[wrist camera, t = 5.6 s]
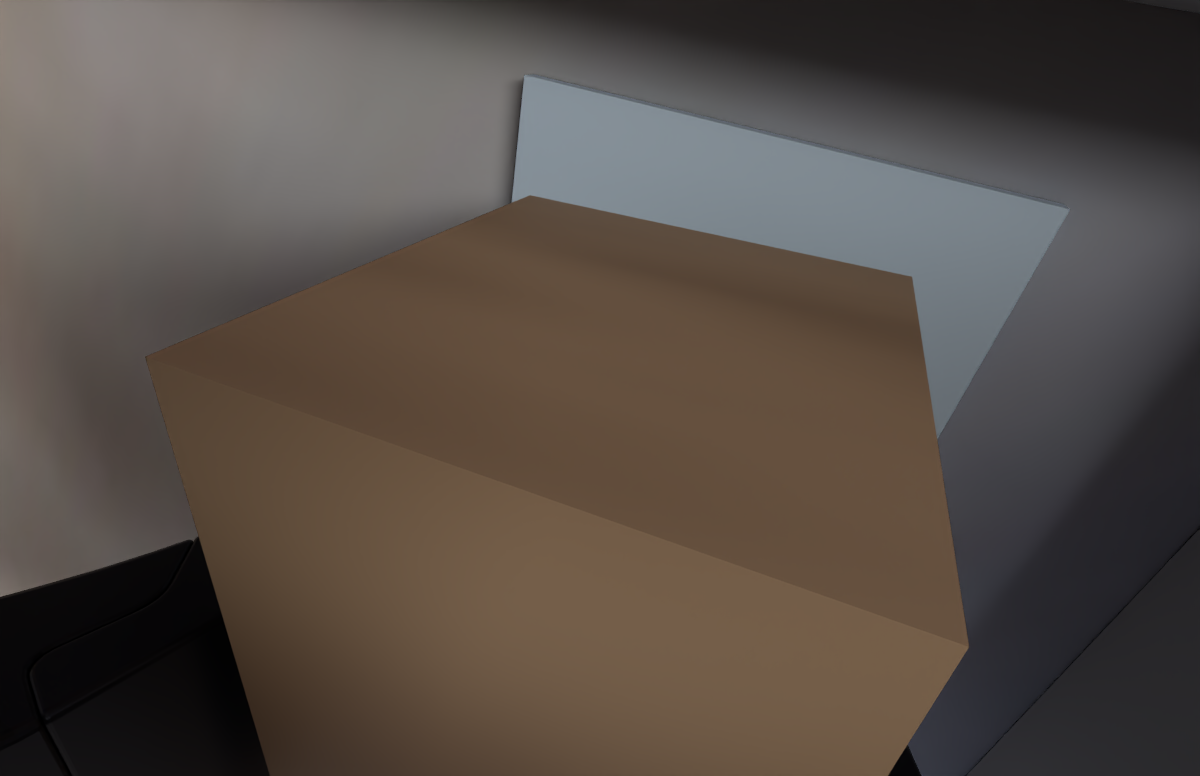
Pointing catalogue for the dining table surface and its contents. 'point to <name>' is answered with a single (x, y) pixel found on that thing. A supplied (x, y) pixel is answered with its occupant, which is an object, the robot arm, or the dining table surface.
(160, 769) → the robot arm
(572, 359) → the walnut block
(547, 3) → the dining table surface
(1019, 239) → the mat
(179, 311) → the dining table surface
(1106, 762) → the grey angle bracket
